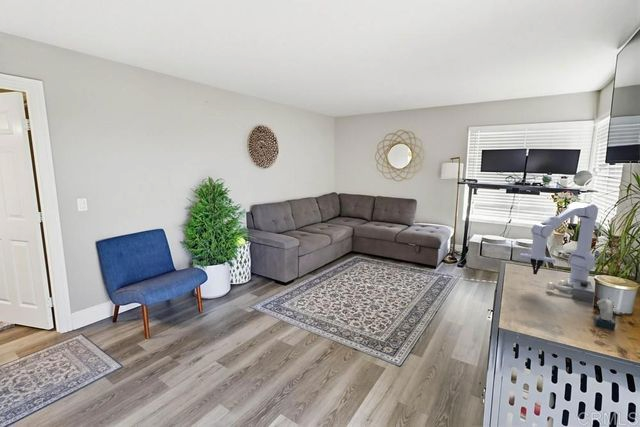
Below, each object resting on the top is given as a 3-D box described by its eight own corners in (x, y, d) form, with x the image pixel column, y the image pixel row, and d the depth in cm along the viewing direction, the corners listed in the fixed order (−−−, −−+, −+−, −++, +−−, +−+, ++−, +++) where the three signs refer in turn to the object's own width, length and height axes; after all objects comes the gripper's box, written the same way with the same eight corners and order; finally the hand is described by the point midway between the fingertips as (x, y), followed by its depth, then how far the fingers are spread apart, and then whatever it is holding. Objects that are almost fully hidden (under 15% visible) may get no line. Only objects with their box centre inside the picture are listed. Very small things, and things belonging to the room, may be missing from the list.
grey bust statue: (610, 323, 126) (615, 298, 124) (615, 333, 119) (620, 306, 117) (592, 319, 129) (597, 294, 127) (595, 328, 122) (600, 302, 120)
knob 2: (588, 291, 154) (589, 284, 154) (589, 293, 151) (590, 286, 151) (557, 285, 161) (558, 278, 160) (558, 287, 158) (559, 280, 157)
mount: (569, 288, 160) (571, 275, 159) (588, 292, 156) (590, 278, 155) (572, 298, 148) (574, 284, 147) (592, 303, 144) (595, 288, 143)
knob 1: (576, 293, 151) (577, 286, 151) (577, 296, 148) (578, 288, 148) (546, 287, 158) (547, 280, 157) (546, 289, 155) (547, 282, 154)
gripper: (521, 247, 157) (517, 272, 159) (557, 252, 149) (552, 279, 151) (521, 244, 162) (518, 269, 165) (556, 249, 154) (552, 275, 157)
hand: (534, 273), depth 158 cm, fingers closed
